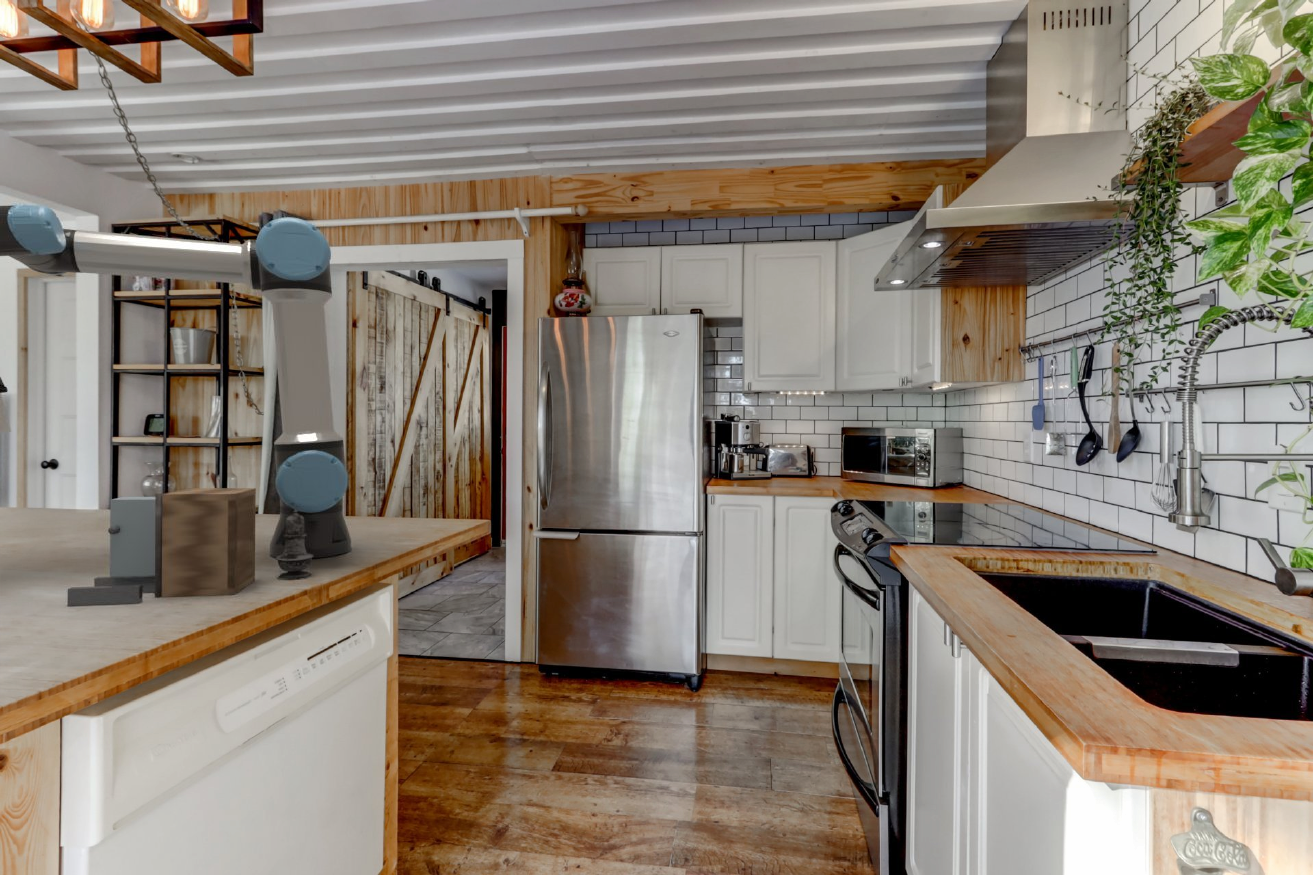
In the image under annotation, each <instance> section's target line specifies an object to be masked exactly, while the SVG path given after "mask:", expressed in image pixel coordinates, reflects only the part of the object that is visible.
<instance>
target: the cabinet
mask: <svg viewBox="0 0 1313 875" xmlns="http://www.w3.org/2000/svg"><path fill="white" fill-rule="evenodd" d="M256 491H257V490H256V487H253V488H252V487H249V488H248V487H232V488H231V487H229V488H228V487H226V488H225V487H224V488H223V487H219V488H218V487H214V488H213V487H212V488H209V487H206V488H203V487H199V488H197V487H196V488H194V487H190V488H184V489H180V490H175V491H171V492H166V493H155V495H154V497H155V592H154V597H155V598H171V597H172V598H174V597H175V598H176V597H199V596H200V597H201V596H202V597H203V596H226V595H227V596H229V595H230V594H231V595H235V593H236V594H237V593H238V591H239V592H240V591H242V590H243V589H245V588H247V586H249V585H250V584H253V583H254V582H255V581H256V572H255V571H256V501H257V500H256V499H257V498H256V495H257V492H256ZM241 589H242V590H241Z"/></svg>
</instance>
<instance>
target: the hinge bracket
mask: <svg viewBox="0 0 1313 875" xmlns="http://www.w3.org/2000/svg"><path fill="white" fill-rule="evenodd" d="M93 582H94V583H93V584H94V585H93V586H74V587H73V586H72V587H69V588H67V602H66V603H67V604H66V605H67V607H75V606H81V607H82V606H99V605H101V606H102V605H103V606H105V605H126V604H127V605H129V604H141V603H143V597H144V595H143V594H145V593H155V575H148V576H114V577H110V576H97V577H95V578H93Z"/></svg>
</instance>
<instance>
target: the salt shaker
mask: <svg viewBox="0 0 1313 875" xmlns="http://www.w3.org/2000/svg"><path fill="white" fill-rule="evenodd" d="M297 512H298V511H297V510H296V509H295V510H294V514H292V515H290V516H289V517H288V518H287V520H286V534H285V535H284V537H285V538H286V547H285V550H284V553H283V554H282V555H280V556H277V557H275V560H277V564H278V567H279V569H280V570H282V571H284V572H282V573H280V574H279V575H278V576H277V579H278V578H279V580H281V579H282V580H281V581H294V580H295V579H297V580H301V579H300V578H304V579H306V578H307V577H308V578H310V577H311V576H312V573H311V572H309V571H306V569H307V568H309V566H310V565H311V563H312V559H313V558H312V557H313V556H314V555H313V554H310V553H307V552H306V549H305V546H304V544H305V536H306V535H307V534H305V533H304V517H303V516H301V515H299V514H297ZM309 576H310V577H309Z"/></svg>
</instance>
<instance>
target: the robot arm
mask: <svg viewBox="0 0 1313 875" xmlns="http://www.w3.org/2000/svg"><path fill="white" fill-rule="evenodd" d="M57 216H58V215H57V214H56V212H55V211H54V210H53V209H51V208H50V207H48V206H47V205H36V204H35V205H33V204H32V205H29V204H22V203H20V204H14V205H11V204H10V205H0V257H10V258H12V259H14V260H15V261H18V262H20V263H21V264H22V265H24V266H26V267H28V268H29V269H31V270H33V271H35V272H38V273H41V274H46V275H52V276H53V275H54V276H56V275H57V276H58V275H59V276H60V275H64V274H67V273H74V274H75V273H76V274H77V273H79V274H94V275H95V274H96V275H109V276H111V275H112V276H127V277H139V278H140V277H142V278H157V279H170V280H185V281H197V282H199V281H200V282H201V281H202V282H214V283H227V284H229V283H231V284H244V285H246V286H247V287H248V288H250V290H254V291H255V290H257V291H261V295H262V297H263V298H265V299H266V300H267V301H268V302H270V304H271V307H272V318H273V319H272V320H273V329H274V330H273V331H274V343H275V356H276V369H277V378H278V379H277V380H278V392H279V404H280V415H281V416H280V417H281V426H282V427H281V429H282V433H281V435H280V436H279V437H278V438H277V439H276V440H275V441H274V442H273V443H274V445H273V446H274V457H275V458H274V459H275V468H276V476H275V480H274V482H275V483H274V484H275V485H274V486H275V491H276V493H277V494H278V497H279V507H280V508H279V519H278V521H277V523H276V524H277V525H276V527H275V530H274V532H273V535H272V538H271V540H270V543H269V556H270V557H273V558H276V557H277V556H280V555H282V554H283V553H284V550H285V547H286V538H285V537H284V535H285V534H286V520H287V518H288V517H289V516H290V515H292V514H294V510H295V509H296V510H297V511H298V512H297V514H299V515H301V516H303V517H304V533H305V534H307V535H306V536H305V544H304V546H305V549H306V552H307V553H310V554H313V555H314V556H313V557H312V559H319V558H326V557H327V558H328V557H333V556H338V554H339V555H342V554H343V555H344V554H345V552H346V553H348V551H349V552H350V551H351V550H352V537H351V534H350V531H349V529H348V525H347V524H346V519H345V518H344V512H343V511H344V510H343V508H344V506H343V505H344V504H343V503H344V495H345V494H346V491H347V490H348V487H349V475H348V474H349V473H348V472H347V468H346V459H345V446H344V437H342V436H341V435H340V434H339V433H338V432H336V431H335V428H334V416H333V404H332V403H333V402H332V393H331V392H332V391H331V390H332V389H331V376H330V367H329V366H330V364H329V363H330V362H329V351H328V340H327V326H326V325H327V324H326V313H325V305H326V304H327V303H328V302H329V300H331V299H332V297H333V291H332V290H333V287H332V279H331V278H332V277H331V276H332V275H331V263H330V262H331V258H332V252H331V246H330V244H329V242H328V240H327V238H326V236H325V235H324V234H323V232H322V231H321V230H320V229H319V228H318V227H316V226H315V225H314V224H312V223H310V222H308V221H306V220H304V219H301V218H298V217H293V216H291V217H290V216H289V217H288V216H285V217H279V218H275V219H273V220H270V221H268V222H267V223H266V224H265V225H264V226H263V227H262V228H261V229H260V231H259V232H258V234H257V237H256V240H255V239H248V240H246V241H244V243H242V244H241V243H231V242H230V243H229V242H228V243H227V242H221V241H220V242H218V241H205V240H197V239H195V240H194V239H186V238H185V239H184V238H174V237H173V238H171V237H164V236H163V237H162V236H161V237H160V236H153V235H152V236H151V235H138V234H126V233H115V232H104V231H94V230H93V231H92V230H82V229H77V230H76V229H71V228H70V229H69V228H63V226H62V223H61V220H60V219H59V217H57ZM2 393H3V394H5V393H8V387H7V386H6V385H5V383H4V382H3V379H2V377H1V376H0V434H3V433H8V432H9V433H10V432H12V430H11V425H10V422H9V419H8V415H7V411H6V408H5V404H4V400H3V397H2Z"/></svg>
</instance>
